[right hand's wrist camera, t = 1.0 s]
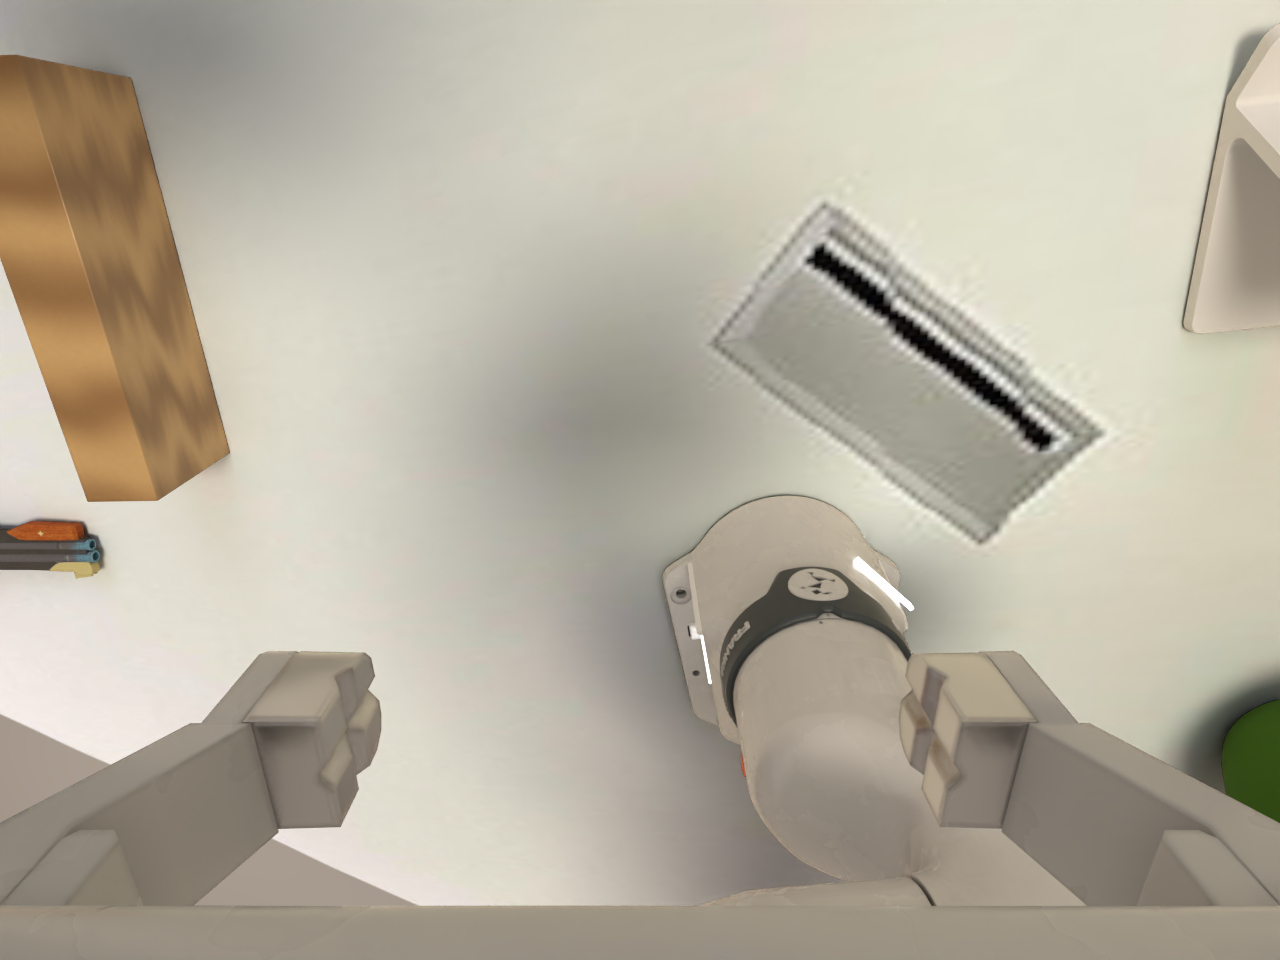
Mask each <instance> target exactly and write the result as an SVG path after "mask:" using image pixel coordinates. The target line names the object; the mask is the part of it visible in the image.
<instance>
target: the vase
mask: <svg viewBox="0 0 1280 960" xmlns="http://www.w3.org/2000/svg"><path fill="white" fill-rule="evenodd" d="M1221 765H1222V773H1223V779H1224V784H1225V790H1226V795H1227V796H1229V797H1231V798H1233V799H1235V800H1237V801H1238V802H1240V803H1242V804H1244V805H1246V806H1248V807H1250V808H1252V809H1254V810H1256V811H1258V812H1259V813H1261V814H1263V815H1265V816H1267V817H1269V818H1271V819H1273V820H1275V821H1277V822H1278V823H1280V700H1275V701H1272V702H1268V703H1265V704H1263V705H1261V706H1258V707H1256V708H1254V709H1253V710H1251V711H1249V712H1248V713H1246V714H1245V715H1243V716H1242V717H1241V718H1240V719H1238V721H1237V722H1236V723H1235V724H1234V725H1233V726H1232V727H1231V729H1230V730H1229V732H1228V733H1227V735H1226V737H1225V740H1224V744H1223V752H1222V764H1221Z"/></svg>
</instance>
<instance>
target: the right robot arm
mask: <svg viewBox="0 0 1280 960" xmlns="http://www.w3.org/2000/svg"><path fill="white" fill-rule="evenodd" d="M899 583H900V573H899V571H898V569H897V567H896V565H895V564H894V563H893V562H892V561H891V560H889V559H888V558H887V557H885V556H883V555H882V554H880V553H878V552H877V551H875V550H873V549H872V548H871V547H870V546H869V544H868V543H867V542H866V540H865V538H864V537H863V535H862V533H861V532H860V530H859V529H858V528H857V526H856V525H855V524H854V523H853V522H852V521H851V520H850V519H849V518H848V517H847V516H846V515H845V514H844V513H842V512H841V511H839V510H838V509H836V508H834V507H833V506H831V505H829V504H827V503H824V502H822V501H819V500H816V499H812V498H807V497H801V496H774V497H768V498H763V499H759V500H756V501H753V502H750V503H747V504H745V505H743V506H741V507H739V508H737V509H735V510H733V511H732V512H730V513H729V514H727V515H726V516H724V517H723V518H722V519H720V520H719V521H718V522H717V523H716V524H715V525H714V526H713V527H712V528H711V529H710V530H709V531H708V533H707V534H706V535H705V537H704V538H703V539H702V540H701V542H700V543H699V544H698V546H697V547H696V548H695V549H694V550H693V551H692V552H691V553H689V554H687V555H685V556H683V557H682V558H680V559H678V560H677V561H675V562H674V563H672V564H671V565H670V566H668V567H667V568H666V569H665V571H664V573H663V584H664V588H665V593H666V597H667V601H668V606H669V610H670V614H671V618H672V623H673V627H674V631H675V636H676V640H677V644H678V648H679V653H680V657H681V661H682V666H683V670H684V674H685V678H686V683H687V687H688V691H689V695H690V699H691V703H692V707H693V711H694V713H695V715H696V716H697V717H699V718H700V719H702V720H704V721H706V722H709V723H711V724H714V725H717V726H719V727H720V732H721V734H722V735H723V736H724V737H725V738H726V739H728V740H729V741H731V742H733V743H736V744H738V745H741V766H742V771H743V775H744V776H745V777H746V778H747V783H748V789H749V794H750V797H751V800H752V803H753V805H754V807H755V809H756V811H757V813H758V814H759V816H760V818H761V819H762V821H763V822H764V824H765V825H766V826H767V828H768V829H769V830H770V832H771V833H772V834H773V835H774V836H775V837H776V839H777V840H778V841H779V842H780V843H781V844H782V845H783V846H784V847H785V848H786V849H787V850H788V851H789V852H790V853H791V854H793V855H794V856H795V857H797V858H798V859H800V860H801V861H802V862H804V863H806V864H808V865H809V866H811V867H813V868H815V869H817V870H819V871H821V872H824V873H826V874H828V875H830V876H833V877H835V878H838V879H840V880H843V881H845V882H836V883H825V884H813V885H802V886H790V887H778V888H767V889H755V890H747V891H744V892H741V893H737V894H734V895H731V896H728V897H724V898H721V899H718V900H714V901H711V902H708V903H705V904H701V905H698V906H193V905H195V904H196V903H197V902H198V901H199V900H200V899H202V898H203V897H204V896H205V895H206V894H207V893H209V892H210V891H211V890H212V889H213V888H214V887H216V886H217V885H218V884H219V883H220V882H221V881H222V880H224V879H225V878H226V877H227V876H228V875H229V874H231V873H232V872H233V871H234V870H235V869H236V868H238V867H239V866H240V865H241V864H242V863H243V862H245V861H246V860H247V859H248V858H249V857H250V856H251V855H253V854H254V853H255V852H256V851H257V850H258V849H260V848H261V847H262V846H263V845H264V844H265V843H267V842H268V841H269V840H270V839H271V838H272V837H274V836H275V835H276V834H277V833H278V829H289V828H324V827H341V825H342V823H343V821H344V819H345V816H346V814H347V812H348V810H349V808H350V806H351V804H352V802H353V800H354V798H355V796H356V794H357V792H358V790H359V788H358V783H357V777H356V775H357V774H359V773H360V772H361V771H363V770H364V769H366V768H367V767H368V766H370V764H371V762H372V760H373V758H374V755H375V753H376V751H377V747H378V743H379V738H380V733H381V709H380V703H379V700H378V699H377V698H376V697H375V696H374V695H373V694H372V693H371V692H370V691H369V690H368V688H369V686H370V684H371V683H372V681H373V679H374V677H375V674H374V669H373V665H372V660H371V657H370V656H368V655H367V654H366V653H354V652H308V651H301V652H297V651H268V652H265V653H262V654H259V656H258V657H257V658H256V659H255V660H254V661H253V662H252V664H251V665H250V666H249V667H248V668H247V670H246V671H245V672H244V673H243V674H242V675H241V677H240V678H239V679H238V680H237V681H236V683H235V684H234V685H233V686H232V687H231V689H230V690H229V691H228V692H227V693H226V694H225V696H224V697H223V698H222V699H221V700H220V702H219V703H218V704H217V705H216V706H215V707H214V709H213V710H212V711H211V712H210V713H209V715H208V716H207V717H206V718H205V719H204V721H203V722H202V723H190V724H188V725H186V726H184V727H182V728H181V729H179V730H177V731H175V732H173V733H171V734H169V735H167V736H165V737H163V738H161V739H160V740H158V741H156V742H154V743H152V744H150V745H148V746H146V747H144V748H142V749H140V750H139V751H137V752H135V753H133V754H131V755H129V756H127V757H125V758H123V759H121V760H119V761H117V762H116V763H114V764H112V765H110V766H108V767H106V768H104V769H102V770H100V771H98V772H97V773H95V774H93V775H91V776H89V777H87V778H85V779H83V780H81V781H79V782H77V783H75V784H74V785H72V786H70V787H68V788H66V789H64V790H62V791H60V792H58V793H56V794H54V795H53V796H51V797H49V798H47V799H45V800H43V801H41V802H39V803H37V804H35V805H33V806H32V807H30V808H28V809H26V810H24V811H22V812H20V813H18V814H16V815H14V816H12V817H11V818H9V819H7V820H5V821H3V822H1V823H0V960H1280V823H1278V822H1277V821H1275V820H1273V819H1271V818H1269V817H1267V816H1265V815H1263V814H1261V813H1259V812H1258V811H1256V810H1254V809H1252V808H1250V807H1248V806H1246V805H1244V804H1242V803H1240V802H1238V801H1237V800H1235V799H1233V798H1231V797H1229V796H1227V795H1225V794H1223V793H1221V792H1219V791H1218V790H1216V789H1214V788H1212V787H1210V786H1208V785H1206V784H1204V783H1202V782H1200V781H1198V780H1197V779H1195V778H1193V777H1191V776H1189V775H1187V774H1185V773H1183V772H1181V771H1179V770H1178V769H1176V768H1174V767H1172V766H1170V765H1168V764H1166V763H1164V762H1162V761H1160V760H1158V759H1157V758H1155V757H1153V756H1151V755H1149V754H1147V753H1145V752H1143V751H1141V750H1139V749H1138V748H1136V747H1134V746H1132V745H1130V744H1128V743H1126V742H1124V741H1122V740H1120V739H1118V738H1117V737H1115V736H1113V735H1111V734H1109V733H1107V732H1105V731H1103V730H1101V729H1099V728H1098V727H1096V726H1094V725H1092V724H1090V723H1078V722H1077V721H1076V719H1075V718H1074V717H1073V716H1072V715H1071V713H1070V712H1069V711H1068V710H1067V709H1066V708H1065V706H1064V705H1063V704H1062V703H1061V702H1060V700H1059V699H1058V698H1057V697H1056V696H1055V695H1054V693H1053V692H1052V691H1051V690H1050V689H1049V687H1048V686H1047V685H1046V684H1045V683H1044V682H1043V680H1042V679H1041V678H1040V677H1039V676H1038V674H1037V673H1036V672H1035V671H1034V670H1033V669H1032V667H1031V666H1030V665H1029V664H1028V663H1027V661H1026V660H1025V659H1024V658H1023V657H1022V655H1020V654H1018V653H1016V652H1014V651H991V652H979V653H912V655H911V653H910V649H909V646H908V643H907V641H906V639H905V637H904V632H905V631H907V630H908V621H907V618H906V616H905V614H904V611H903V609H902V607H901V605H900V602H901V603H902V604H904V605H905V606H906V607H907V608H908V609H909V610H910V611H912V610H913V609H914V607H913V606H912V604H911V603H910V602H909V601H908V600H907V599H905V598H904V597H903V596H902V595H901V594H900V593H899V592H897V589H898V586H899ZM678 590H684V591H685V592H684V593H683V594H678V593H676V592H677V591H678ZM899 601H900V602H899Z"/></svg>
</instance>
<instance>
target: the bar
mask: <svg viewBox="0 0 1280 960" xmlns="http://www.w3.org/2000/svg"><path fill="white" fill-rule="evenodd" d="M0 259H1V262H2V264H3V267H4V270H5V273H6V275H7V278H8V281H9V284H10V287H11V289H12V292H13V295H14V298H15V301H16V303H17V306H18V309H19V312H20V314H21V317H22V320H23V323H24V326H25V328H26V331H27V334H28V337H29V340H30V342H31V345H32V348H33V351H34V353H35V356H36V359H37V362H38V365H39V367H40V370H41V373H42V376H43V379H44V381H45V384H46V387H47V390H48V392H49V395H50V398H51V401H52V404H53V406H54V409H55V412H56V415H57V418H58V420H59V423H60V426H61V429H62V431H63V434H64V437H65V440H66V443H67V445H68V448H69V451H70V454H71V457H72V459H73V462H74V465H75V468H76V470H77V473H78V476H79V479H80V482H81V484H82V487H83V490H84V493H85V496H86V498H87V501H88V502H103V501H158V500H159V499H161V498H162V497H164V496H165V495H167V494H168V493H170V492H172V491H173V490H175V489H176V488H178V487H179V486H181V485H182V484H184V483H185V482H187V481H188V480H190V479H191V478H193V477H194V476H196V475H197V474H199V473H200V472H202V471H203V470H205V469H206V468H208V467H209V466H211V465H212V464H214V463H215V462H217V461H218V460H220V459H221V458H223V457H224V456H226V455H227V454H229V453H230V452H229V448H228V444H227V441H226V437H225V433H224V429H223V425H222V422H221V418H220V414H219V410H218V407H217V403H216V399H215V395H214V391H213V388H212V384H211V380H210V376H209V372H208V369H207V365H206V361H205V357H204V353H203V350H202V346H201V342H200V338H199V334H198V331H197V327H196V323H195V319H194V315H193V312H192V308H191V304H190V300H189V297H188V293H187V289H186V285H185V281H184V278H183V274H182V270H181V266H180V262H179V259H178V255H177V251H176V247H175V243H174V240H173V236H172V232H171V228H170V224H169V221H168V217H167V213H166V209H165V205H164V202H163V198H162V194H161V190H160V187H159V183H158V179H157V175H156V171H155V168H154V164H153V160H152V156H151V152H150V149H149V145H148V141H147V137H146V133H145V130H144V126H143V122H142V118H141V114H140V111H139V107H138V103H137V99H136V95H135V92H134V88H133V84H132V80H131V78H129V77H124V76H119V75H114V74H109V73H104V72H99V71H94V70H90V69H85V68H80V67H75V66H70V65H65V64H60V63H55V62H50V61H45V60H40V59H35V58H30V57H25V56H21V55H0Z"/></svg>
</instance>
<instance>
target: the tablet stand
mask: <svg viewBox="0 0 1280 960" xmlns="http://www.w3.org/2000/svg"><path fill="white" fill-rule="evenodd" d="M1271 326H1280V24H1278V25H1276V26H1274V27H1273V28H1271V29H1270V30H1269V31H1268V32H1267V33H1266V34H1265V35H1264V36H1263V38H1262V39H1261V41H1260V43H1259V44H1258V46H1257V48H1256V49H1255V51H1254V53H1253V54H1252V56H1251V58H1250V59H1249V61H1248V63H1247V64H1246V66H1245V68H1244V69H1243V71H1242V73H1241V74H1240V76H1239V78H1238V79H1237V81H1236V83H1235V84H1234V86H1233V87H1232V89H1231V91H1230V92H1229V94H1228V96H1227V98H1226V104H1225V109H1224V114H1223V119H1222V124H1221V130H1220V135H1219V140H1218V145H1217V150H1216V156H1215V161H1214V166H1213V171H1212V176H1211V182H1210V187H1209V192H1208V197H1207V202H1206V208H1205V213H1204V218H1203V223H1202V228H1201V234H1200V239H1199V244H1198V249H1197V254H1196V260H1195V265H1194V270H1193V275H1192V280H1191V285H1190V291H1189V296H1188V301H1187V306H1186V311H1185V317H1184V327H1185V329H1186V330H1188V331H1191V332H1195V333H1198V334H1205V333H1215V332H1224V331H1234V330H1243V329H1252V328H1262V327H1271Z"/></svg>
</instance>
